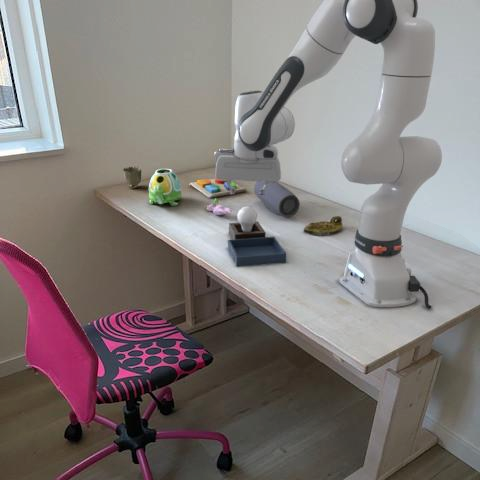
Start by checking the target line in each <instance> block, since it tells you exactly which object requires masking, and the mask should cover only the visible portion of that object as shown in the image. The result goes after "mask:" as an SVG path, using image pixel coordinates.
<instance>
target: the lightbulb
mask: <svg viewBox="0 0 480 480" xmlns="http://www.w3.org/2000/svg"><path fill="white" fill-rule="evenodd" d="M236 216H237V217H236V219H237V221H238V223H240V224H241V227H242V230H243V232H251V230H252V226H253V225H254V223H255V222H256V221H257V220H258V213H257V211H256V210H255V208H254V207H251V206H248V205H247V206H243V207H241V208H240V209H238V212H237V215H236Z"/></svg>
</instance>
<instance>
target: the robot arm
mask: <svg viewBox="0 0 480 480" xmlns="http://www.w3.org/2000/svg"><path fill="white" fill-rule="evenodd" d="M418 3H419V2H418V0H323V1H322V2H321V4H320V5H319V7H318V8H317V9H316V10H315V12H314V14H313V15H312V17H311V19H310V20H309V22H308V23H307V25H306V27H305V29H304V31H303V32H302V34H301V36H300V38H299V39H298V41H297V42H296V45H294V47H293V49H292V50H291V52H290V54H288V56H287V57H286V59H285V60H284V62H283V63H282V64H281V66H280V67H279V68H278V70H277V71H276V73H275V74H274V76H272V78H271V80H270V81H269V82H268V84H267V86H266V88H265V89H264V91H262V90H250V91H245V92H241V93H239V95H237V97H236V101H235V107H234V127H235V134H234V136H233V143H234V144H233V148H222V147H221V148H219V149H216V151H215V152H214V154H213V160H214V162H215V164H216V165H215V171H214V177H215V178H217V180H227V185H228V187H229V189H230V194H229V195H235V194H236V193H235V187H232V185H231V181H235V182H236V181H237V182H257V181H264V184H265V185H264V187H263V188H260V195H265V190H266V188H267V187H268V185H269V182H278V183H279V182H280V180H281V177H282V171H281V161H280V158H279V150H278V148H277V146H275V145H277V144H279V143H282V142H285V141H287V140H288V139H290V138H291V137H292V135H293V133H294V131H295V125H296V123H295V118H294V115H293V113H292V112H291V111H290V110H289V108H287V107H285V106H286V105H287V103H288V101H289V100H290V99H291V98H292V97H293V95H294V94H296V93H297V92H298V91H299V90H300V89H302V88H303V87H305V86H307V85H309V84H311V83H314V82H315V81H317V80H319V79H321V78H323V77H325V76H326V75H328V74H329V73H330V72H331V71H332V70H333V69H334V68H335V66H337V64H338V62H339V61H340V60H341V58H342V57H343V55H344V53H345V52H346V50H347V49H348V47H349V45H351V42H352V41H353V39H354V38H355V37H357V38H358V37H359V38H360V39H363V40H365V41H367V42H368V43H371V44H374V45H379V44H380V45H381V46H382V49H383V61H382V67H381V74H380V80H379V81H380V82H379V86H378V93H377V98H376V102H375V107H374V109H373V113H372V115H371V116H370V119H369V121H368V123H367V125H366V126H365V127H364V128H363V130H362V131H361V132H360V134H359V135H358V136H356V138H354V139H353V140H352V141H351V142H349V144H347V146H346V147H345V149H344V150H343V152H342V155H341V160H340V165H341V170H342V173H343V175H344V177H345V178H346V180H347V181H348V182H350V183H355V184H359V185H381V186H380V187H379V188H378V189H377V190H376V192H374V193H373V194H371V195H370V196H369V197H367V198H366V199H365V200H364V201H363V203H362V205H361V209H360V216H359V221H358V228H357V230H356V232H355V235H354V247H353V249H352V250H351V251H350V253H349V254H348V256H347V261H346V265H345V269H344V273H343V275H341V276H340V278H339V281H338V283H339V284H341V286H343V287H344V288H345V289H347V290H348V291H349V292H351V294H353V295H354V296H356V297H357V298H358V299H360V300H361V301H362V302H363V303H364V304H366V305H367V306H368V307H373V308H398V307H405V306H409V305H412V304H414V303H416V302H417V296H416V294H415V293H416V292H417V293H419V291H420V292H421V293H422V294H423V298H424V305H425V307H426V308H427V309H428V310H431V309H432V305H430V304H429V295H428V293H427V291H426V290H425V288H424V287H423V286H422V285H421V282H420V281H419V280H418V279H417V277H416V276H415V275H412V269H411V268H408V267H407V266H406V263H405V258H403V256H402V253H401V252H402V250H403V247H404V245H402V244H403V240H402V235H401V232H402V228H403V224H404V219H405V216H406V211H407V209H408V207H409V205H410V202H411V201H412V199H413V197H414V196H415V194H416V193H417V192H418V191H419V189H420V188H421V187H422V185H424V184H425V183H426V182H427V181H428V180H429V179H431V178H433V177H434V176H436V174H437V173H438V171H439V169H440V167H441V165H442V161H443V153H442V152H443V151H442V149H441V146H440V145H439V143H438V142H437V140H435V139H433V138H429V137H425V136H419V135H413V136H401V135H402V133H403V131H404V130H405V129H406V128H407V127H408V126H409V124H411V123H412V122H415V120H417V119H418V118H420V117H421V116H422V115H423V113H424V111H425V109H426V105H427V99H428V95H429V90H430V84H431V80H432V79H431V78H432V74H433V68H434V60H435V50H436V31H435V27H434V26H433V24H432V23H431V22H430V21H429V20H427V19H425V18H421V17H417V16H418V10H419V5H418Z"/></svg>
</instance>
